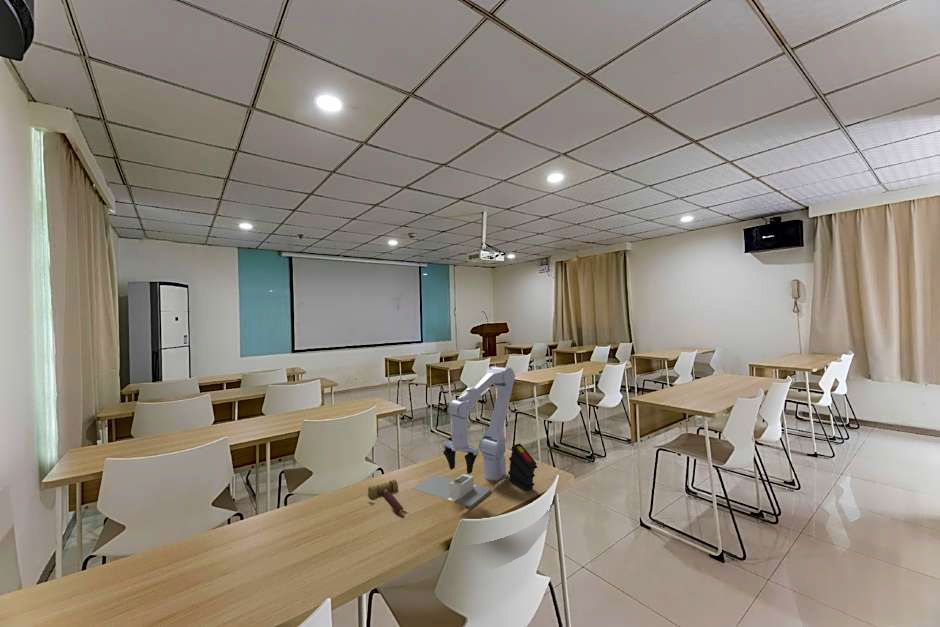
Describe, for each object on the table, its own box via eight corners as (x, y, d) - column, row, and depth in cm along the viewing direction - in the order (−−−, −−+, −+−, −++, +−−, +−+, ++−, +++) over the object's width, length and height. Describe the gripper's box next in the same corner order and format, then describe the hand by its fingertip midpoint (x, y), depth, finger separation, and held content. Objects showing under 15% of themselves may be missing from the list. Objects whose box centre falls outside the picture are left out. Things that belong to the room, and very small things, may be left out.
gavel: (417, 503, 128) (388, 512, 123) (417, 516, 128) (388, 526, 123) (393, 477, 146) (367, 484, 140) (393, 488, 146) (367, 496, 141)
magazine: (511, 471, 154) (520, 442, 148) (530, 497, 143) (541, 467, 138) (503, 473, 152) (512, 444, 146) (522, 500, 142) (533, 470, 136)
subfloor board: (435, 476, 155) (435, 474, 155) (491, 492, 140) (491, 489, 140) (412, 491, 143) (411, 488, 143) (469, 509, 129) (469, 506, 129)
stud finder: (464, 485, 144) (463, 473, 144) (474, 488, 142) (473, 475, 141) (449, 495, 136) (449, 482, 136) (460, 498, 134) (459, 485, 134)
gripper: (437, 433, 140) (438, 470, 140) (470, 440, 132) (471, 479, 132) (448, 428, 146) (449, 463, 146) (481, 434, 138) (482, 471, 138)
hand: (460, 470), depth 140 cm, fingers open, 7 cm apart
